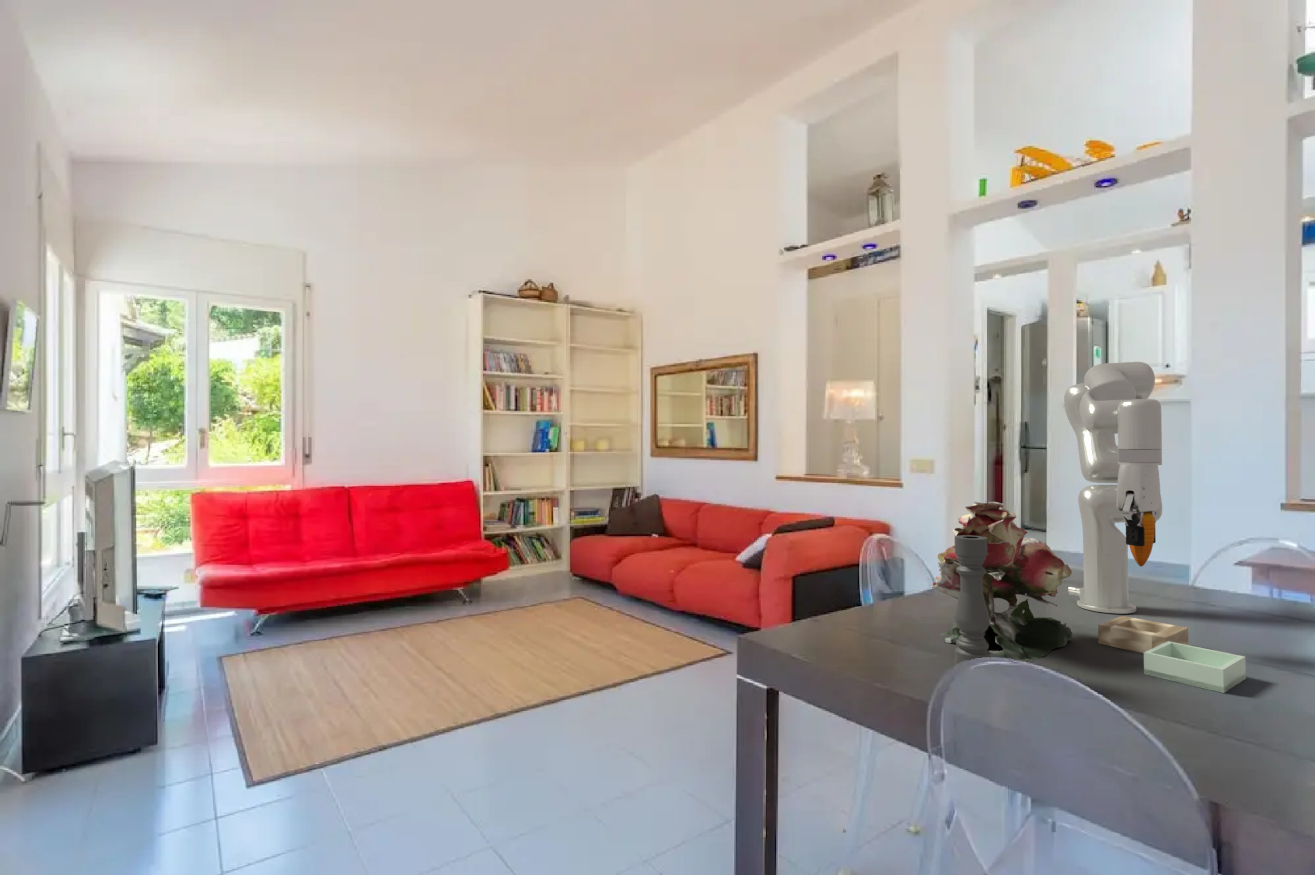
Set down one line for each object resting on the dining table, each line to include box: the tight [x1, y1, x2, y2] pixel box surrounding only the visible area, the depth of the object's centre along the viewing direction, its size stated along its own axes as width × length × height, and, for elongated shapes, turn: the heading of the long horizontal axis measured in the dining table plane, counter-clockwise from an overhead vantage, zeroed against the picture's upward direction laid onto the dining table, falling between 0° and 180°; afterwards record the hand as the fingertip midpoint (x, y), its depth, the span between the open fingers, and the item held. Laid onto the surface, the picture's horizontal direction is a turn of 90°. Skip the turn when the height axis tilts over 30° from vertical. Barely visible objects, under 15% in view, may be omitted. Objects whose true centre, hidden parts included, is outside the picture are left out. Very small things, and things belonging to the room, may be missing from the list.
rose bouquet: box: [931, 501, 1073, 663], centre depth 147 cm, size 26×29×30 cm
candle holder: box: [954, 535, 991, 666], centre depth 127 cm, size 6×6×25 cm
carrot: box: [1128, 502, 1156, 567], centre depth 141 cm, size 5×5×15 cm
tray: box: [1143, 641, 1247, 694], centre depth 122 cm, size 12×12×4 cm
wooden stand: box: [1097, 615, 1189, 654], centre depth 140 cm, size 12×12×4 cm
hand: (1140, 543), depth 141 cm, fingers closed on carrot, 4 cm apart
